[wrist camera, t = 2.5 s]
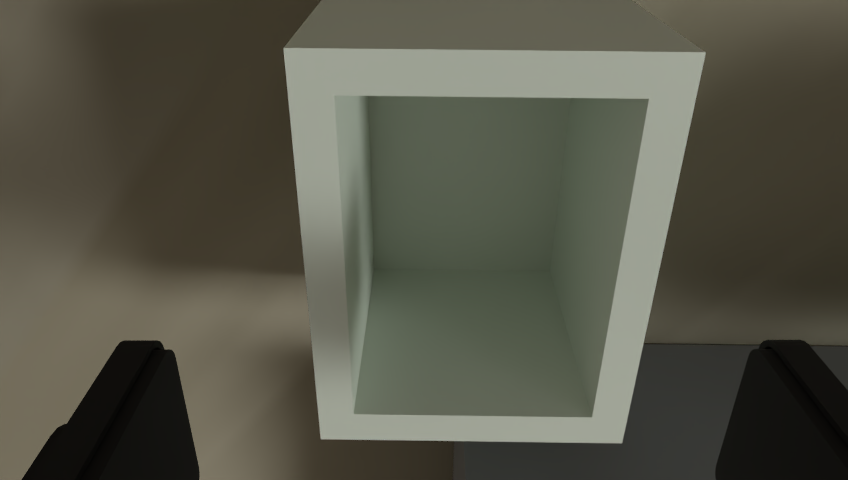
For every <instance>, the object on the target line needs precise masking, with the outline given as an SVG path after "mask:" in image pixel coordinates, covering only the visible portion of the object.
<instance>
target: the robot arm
mask: <svg viewBox="0 0 848 480" xmlns="http://www.w3.org/2000/svg"><path fill="white" fill-rule="evenodd" d="M715 478H716V480H848V390H847V389H846V388H845V386H844V385H843V384H842V383H841V382H840V381H839V379H838V378H837V377H836V376H835V375H834V374H833V372H832V371H831V370H830V369H829V368H828V366H827V365H826V364H825V363H824V362H823V361H822V359H821V358H820V357H819V356H818V355H817V354H816V352H815V351H814V350H813V349H812V348H811V346H810V345H809V344H807V343H806V342H805V341H802V340H766V341H763V342H762V343H761V344H760V346H759V349H754V350H752V351H751V352H750V354H749V356H748V359H747V362H746V366H745V369H744V373H743V376H742V379H741V383H740V386H739V389H738V393H737V396H736V400H735V403H734V406H733V410H732V413H731V416H730V420H729V423H728V427H727V430H726V433H725V437H724V440H723V444H722V447H721V450H720V454H719V457H718V460H717V464H716V468H715ZM22 480H199V466H198V461H197V456H196V452H195V447H194V442H193V438H192V433H191V428H190V423H189V419H188V414H187V409H186V405H185V400H184V395H183V390H182V386H181V381H180V376H179V372H178V367H177V362H176V357H175V354H174V352H173V351H172V350H164V347H163V345H162V343H161V342H160V341H122V342H120V343H119V344H118V346H117V347H116V348H115V350H114V352H113V353H112V355H111V356H110V358H109V359H108V361H107V362H106V364H105V365H104V367H103V369H102V370H101V372H100V373H99V375H98V376H97V378H96V379H95V381H94V383H93V384H92V386H91V387H90V389H89V390H88V392H87V393H86V395H85V397H84V398H83V400H82V401H81V403H80V404H79V406H78V407H77V409H76V410H75V412H74V414H73V415H72V417H71V418H70V420H69V421H68V423H67V424H64V425H62V426H60V427H58V428H57V429H56V430H55V431H54V433H53V434H52V435H51V436H50V438H49V439H48V441H47V442H46V444H45V445H44V447H43V448H42V450H41V451H40V453H39V454H38V456H37V457H36V459H35V460H34V462H33V463H32V465H31V466H30V468H29V469H28V471H27V472H26V474H25V475H24V477H23V478H22Z"/></svg>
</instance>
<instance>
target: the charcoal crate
mask: <svg viewBox="0 0 848 480" xmlns="http://www.w3.org/2000/svg"><path fill="white" fill-rule="evenodd" d="M759 346H760V345H678V344H643V348H642V353H641V358H640V362H639V367H638V372H637V376H636V381H635V386H634V390H633V395H632V400H631V404H630V409H629V414H628V418H627V423H626V428H625V432H624V437H623V442H622V443H559V442H486V441H454V457H453V480H716V478H715V468H716V464H717V460H718V457H719V454H720V450H721V447H722V444H723V440H724V437H725V433H726V430H727V427H728V423H729V420H730V416H731V413H732V410H733V406H734V403H735V400H736V396H737V393H738V389H739V386H740V383H741V379H742V376H743V373H744V369H745V366H746V362H747V359H748V356H749V354H750V352H751V351H752V350H754V349H759ZM811 348H812V349H813V350H814V351H815V352H816V354H817V355H818V356H819V357H820V358H821V359H822V361H823V362H824V363H825V364H826V365H827V366H828V368H829V369H830V370H831V371H832V372H833V374H834V375H835V376H836V377H837V378H838V379H839V381H840V382H841V383H842V384H843V385H844V386H845V388H846V389H847V390H848V346H811Z"/></svg>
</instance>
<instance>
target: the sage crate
mask: <svg viewBox="0 0 848 480" xmlns="http://www.w3.org/2000/svg"><path fill="white" fill-rule="evenodd" d="M283 49H284V60H285V70H286V81H287V91H288V102H289V112H290V122H291V133H292V143H293V154H294V164H295V175H296V185H297V196H298V206H299V217H300V227H301V238H302V248H303V258H304V269H305V279H306V290H307V300H308V311H309V321H310V332H311V342H312V353H313V363H314V374H315V384H316V395H317V405H318V415H319V426H320V436H321V439H340V440H413V441H486V442H559V443H622V442H623V437H624V432H625V428H626V423H627V418H628V414H629V409H630V404H631V400H632V395H633V390H634V386H635V381H636V376H637V372H638V367H639V362H640V358H641V353H642V348H643V344H644V339H645V334H646V330H647V325H648V320H649V316H650V311H651V306H652V302H653V297H654V292H655V288H656V283H657V278H658V274H659V269H660V264H661V260H662V255H663V250H664V246H665V241H666V236H667V232H668V227H669V222H670V218H671V213H672V208H673V204H674V199H675V194H676V190H677V185H678V180H679V176H680V171H681V166H682V162H683V157H684V152H685V148H686V143H687V138H688V134H689V129H690V124H691V120H692V115H693V110H694V106H695V101H696V96H697V92H698V87H699V82H700V78H701V73H702V68H703V64H704V59H705V54H706V52H705V51H703V50H702V49H701V48H699V47H698V46H696V45H695V44H693V43H692V42H691V41H689V40H688V39H686V38H685V37H683V36H682V35H681V34H679V33H678V32H676V31H675V30H673V29H672V28H671V27H669V26H668V25H666V24H665V23H663V22H662V21H661V20H659V19H658V18H656V17H655V16H653V15H652V14H651V13H649V12H648V11H646V10H645V9H643V8H642V7H641V6H639V5H638V4H636V3H635V2H633V1H632V0H321V1H320V3H319V4H318V5H317V6H316V8H315V9H314V10H313V11H312V13H311V14H310V15H309V16H308V18H307V19H306V20H305V21H304V23H303V24H302V25H301V26H300V28H299V29H298V30H297V31H296V33H295V34H294V35H293V36H292V38H291V39H290V40H289V42H288V43H287V44H286V45H285V47H284V48H283Z"/></svg>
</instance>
